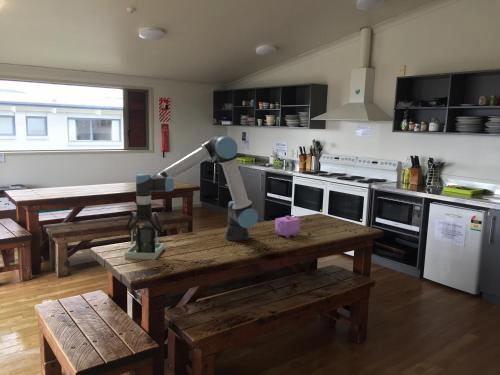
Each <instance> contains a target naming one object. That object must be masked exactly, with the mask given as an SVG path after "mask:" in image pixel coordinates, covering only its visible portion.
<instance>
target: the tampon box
mask: <svg viewBox="0 0 500 375" xmlns="http://www.w3.org/2000/svg"><path fill="white" fill-rule="evenodd" d="M134 228H135V229H134V242H135V243H136V252H137V253H154V252H155V243H156V229H155V227H154V226H153V225H152V224H151V223H150V222H138V223H137V224H136V225H135V226H134Z"/></svg>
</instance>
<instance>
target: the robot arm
mask: <svg viewBox="0 0 500 375" xmlns="http://www.w3.org/2000/svg"><path fill="white" fill-rule="evenodd" d="M215 157H216V160H217V163H218V164H220V165H221V167H222V170H223V174H224V177H225V179H226V183H227V186H228V189H229V193H230V196H231V199H232V200H231V201H229V202H228V203H227V204H228V206H227V211H228V212H227V223H228V224H227V228H226V230H225V235H224V236H225V239H226V240H228V241H231V242H232V241H233V242H243V241H244V242H245V241H247V240H250V238H251V234H250V230H249V229H250V228H253V227H254V226H255V225H256V224H257V222H259V221H258V220H259V213H258V212H257V210H255V208H254V206H253V203H252V200H250V199H248V194H247V191H246V187H245V185H244V181H243V178H242V174H241V171H240V167H239V164H238V159H239V155H238V143H237V142H236V140H235V139H234V138H232V137H231V136H228V135H215V136H213V137H212V138H210V139H209V140H207V141H206V142H204V143H202V144H201V145H200V147H199V148H197V149H196V150H194V151H193V152H191V153H189V154H188V155H185V156H184V157H182V158H181V159H180V160H178V161H177V162H175V163H173V164H172V165H169V166H168V167H166V168H165V169H163V170H162V171H160V172H157V173H154V174H153V175H152V176H151V174H150V173H138V174H137V175H136V176H135V189H136V190H135V193H136V211H131V212H130V217H129V218H128V222H127V223H126V226H125V230H128V235H129V237H131V238H130V242H131V243H130V244H133V243H134V242H135V229H134V228H135V225H136V224H137V223H139V221H141V222H143V221H145V222H148V223H151V224H152V225H153V226H154V227H155V243H156V244H157V243H159V238H160V237H161V231H163V230H164V225H163V223H162V222H161V219H160V217H159V215H158V214H159V213H158V212H157V211H156V212H152V193H153V192H157V193H158V192H172V191H174V189H175V181H174V180H176V179H177V178H179V177H180V176H182V175H184V174H185V173H187V172H188V171H190V170H192V169H193V168H196V167H197V166H198V165H200V164H201V163H203V162H205V161H207V160H212V159H213V158H215ZM135 217H137V218H136V219H135V221H134V222H133V220H134V218H135ZM152 217H153V218H154V220H153V218H152ZM132 222H133V224H132Z"/></svg>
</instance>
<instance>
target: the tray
mask: <svg viewBox="0 0 500 375" xmlns="http://www.w3.org/2000/svg"><path fill="white" fill-rule="evenodd" d="M164 249H165V243H162V242H161V243H159V242H158V243H157V244H156V242H155V252H154V253H137V252H136V242H135V243H134V244H132V245H131V246H130V247H129V248H128V249H127V250H126V251H125V252H124V259H131V260H132V259H135V260H137V259H138V260H156V259H157V258H158V257H159V255H160V254H161V253H162V252H163V251H164Z"/></svg>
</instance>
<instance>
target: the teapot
mask: <svg viewBox="0 0 500 375" xmlns="http://www.w3.org/2000/svg"><path fill="white" fill-rule="evenodd" d="M300 217H301V215H298V216H296V217H293V216H290V215H285V216H282V217H278V218H275V221H274V222H275V224H274V226H275V227H274V233H275V234H277V235H278V236H280V237H281V236H285V238H286V239H290V236H292V237H296V236H297V235H298V234H300V233H301V219H300Z"/></svg>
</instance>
